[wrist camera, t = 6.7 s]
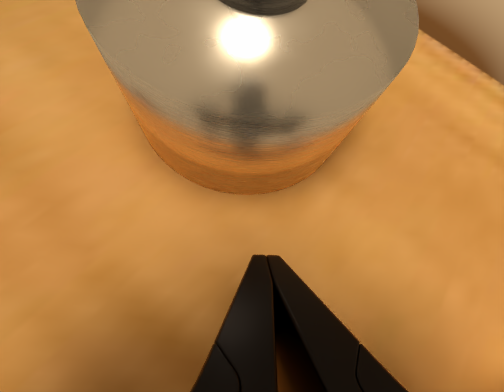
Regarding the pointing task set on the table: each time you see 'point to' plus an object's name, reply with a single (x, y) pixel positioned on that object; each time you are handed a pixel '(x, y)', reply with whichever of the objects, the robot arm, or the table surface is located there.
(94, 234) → the table surface
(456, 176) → the table surface
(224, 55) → the cover
